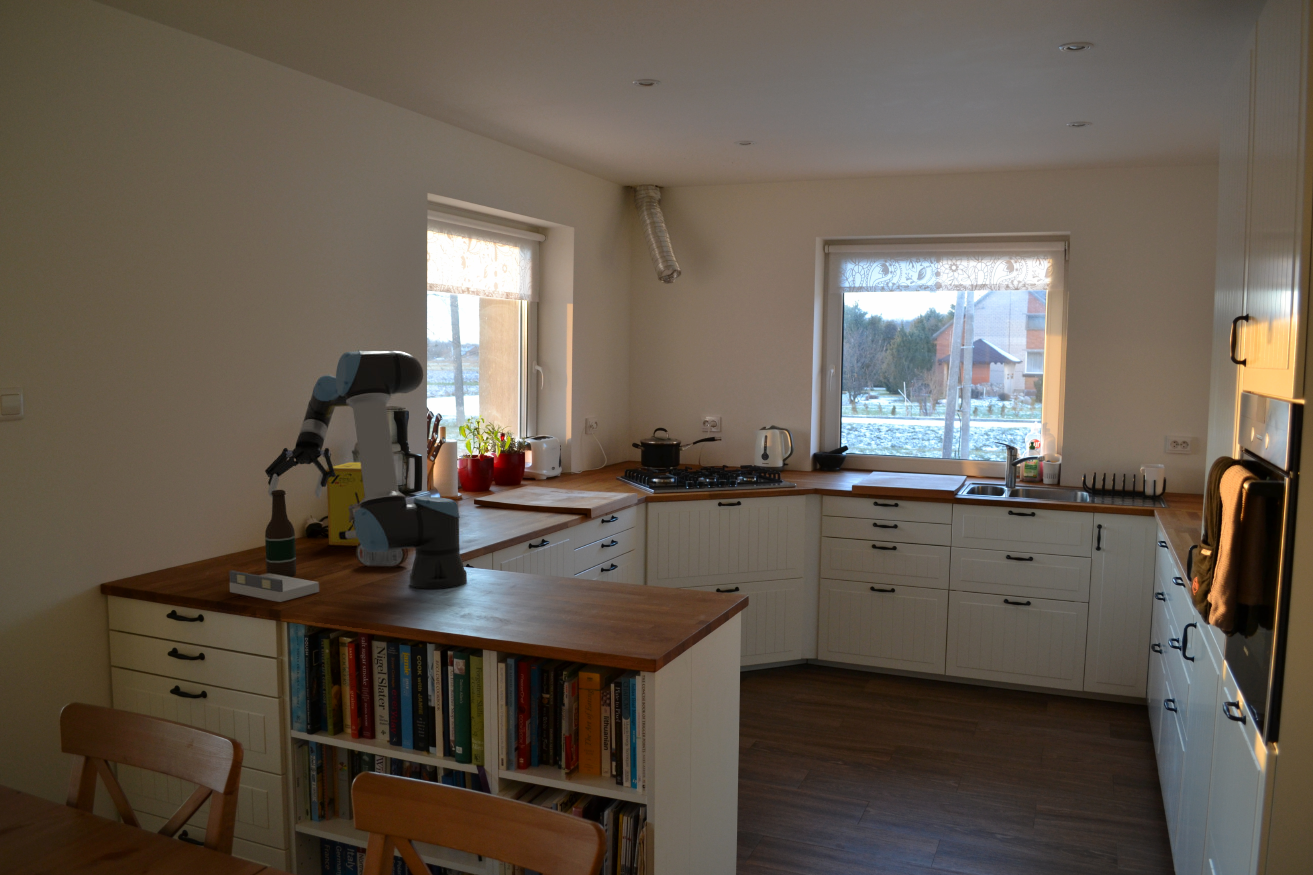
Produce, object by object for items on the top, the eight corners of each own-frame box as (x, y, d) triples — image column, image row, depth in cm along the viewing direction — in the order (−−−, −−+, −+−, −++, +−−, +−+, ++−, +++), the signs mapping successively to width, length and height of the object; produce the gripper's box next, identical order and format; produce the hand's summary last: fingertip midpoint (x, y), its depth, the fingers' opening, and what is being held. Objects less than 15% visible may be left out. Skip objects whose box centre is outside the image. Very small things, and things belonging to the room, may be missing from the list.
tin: (408, 566, 281) (408, 537, 281) (405, 568, 278) (404, 539, 277) (359, 565, 283) (358, 536, 282) (354, 567, 280) (353, 538, 279)
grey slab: (319, 591, 252) (318, 570, 251) (279, 602, 241) (278, 580, 241) (269, 582, 262) (268, 562, 261) (229, 591, 252) (228, 571, 251)
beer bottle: (260, 576, 268) (257, 491, 266) (283, 570, 275) (279, 487, 273) (280, 579, 265) (276, 493, 262) (302, 573, 272) (299, 489, 269)
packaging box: (376, 546, 309) (374, 469, 307) (329, 544, 312) (326, 468, 309) (397, 536, 325) (395, 462, 323) (352, 535, 328) (350, 462, 325)
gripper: (355, 445, 295) (340, 502, 281) (274, 445, 295) (255, 502, 282) (349, 430, 289) (333, 486, 276) (266, 430, 290) (246, 486, 276)
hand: (293, 494), depth 279 cm, fingers open, 13 cm apart
